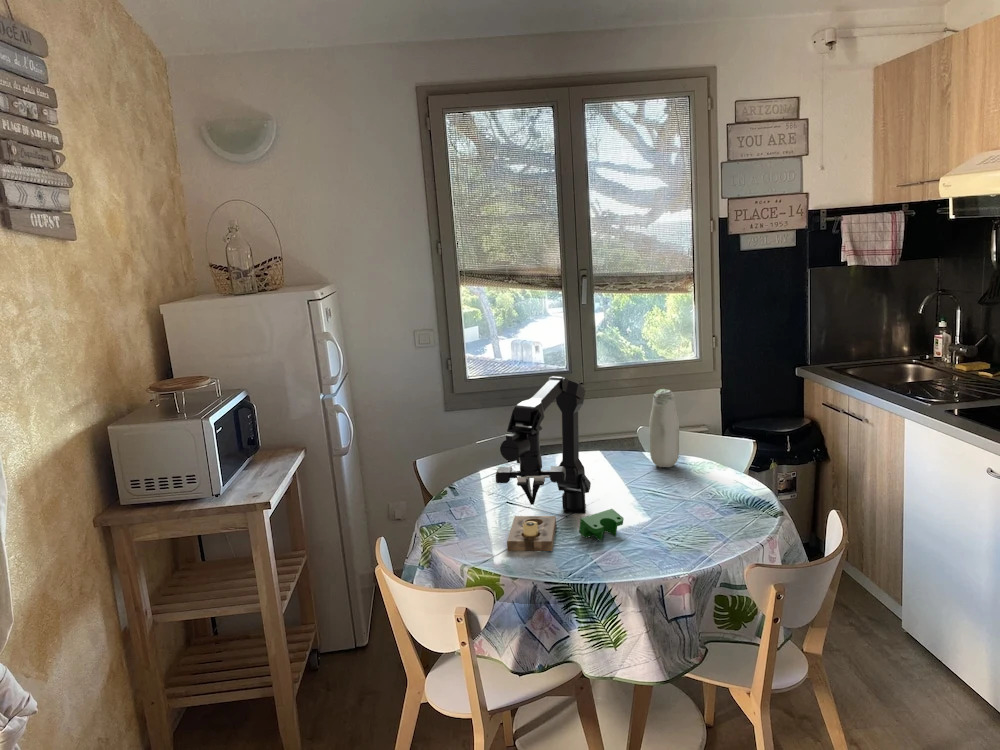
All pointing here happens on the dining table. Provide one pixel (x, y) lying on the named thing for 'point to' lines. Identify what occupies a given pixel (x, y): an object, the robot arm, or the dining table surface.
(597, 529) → the clamp
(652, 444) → the white bottle
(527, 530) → the brass sleeve
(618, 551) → the dining table surface
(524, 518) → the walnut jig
